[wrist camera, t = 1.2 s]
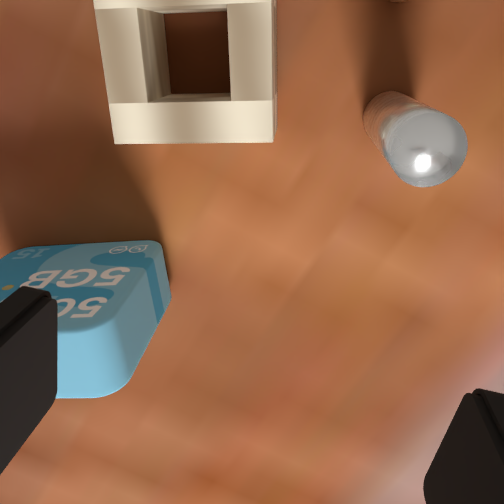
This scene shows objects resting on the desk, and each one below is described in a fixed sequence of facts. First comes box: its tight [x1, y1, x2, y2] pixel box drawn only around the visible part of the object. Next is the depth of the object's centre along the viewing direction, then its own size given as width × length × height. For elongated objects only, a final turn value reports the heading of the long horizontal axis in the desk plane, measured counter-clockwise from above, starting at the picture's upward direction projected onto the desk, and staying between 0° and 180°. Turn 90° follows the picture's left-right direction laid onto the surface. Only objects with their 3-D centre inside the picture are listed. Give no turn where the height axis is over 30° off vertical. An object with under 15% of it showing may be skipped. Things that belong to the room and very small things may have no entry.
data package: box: [0, 240, 171, 398], centre depth 30 cm, size 12×4×12 cm, turn 96°
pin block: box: [93, 0, 277, 144], centre depth 26 cm, size 9×9×5 cm
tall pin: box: [363, 91, 468, 187], centre depth 24 cm, size 3×3×10 cm
